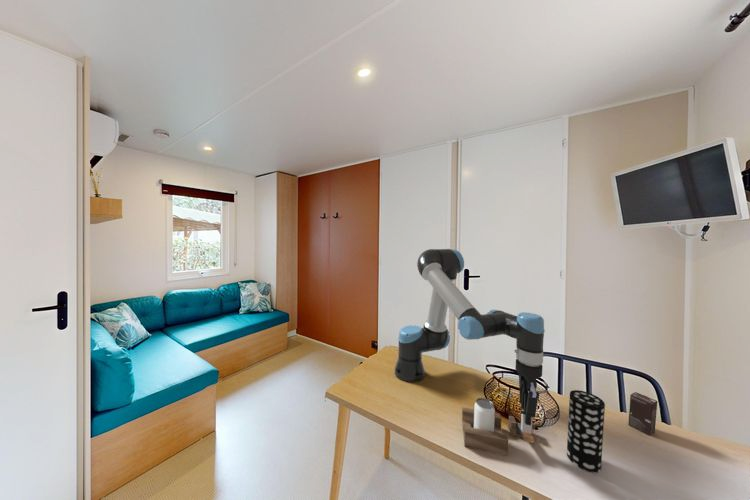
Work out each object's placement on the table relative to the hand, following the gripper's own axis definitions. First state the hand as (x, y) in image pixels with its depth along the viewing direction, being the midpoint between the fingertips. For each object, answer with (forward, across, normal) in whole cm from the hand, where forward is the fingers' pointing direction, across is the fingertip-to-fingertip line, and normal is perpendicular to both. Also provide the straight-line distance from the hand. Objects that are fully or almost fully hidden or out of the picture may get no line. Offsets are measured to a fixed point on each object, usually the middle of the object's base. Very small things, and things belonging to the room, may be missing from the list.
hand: (526, 431), depth 84 cm
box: (+6, -21, +44) cm, 49 cm away
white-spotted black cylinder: (+6, +1, +16) cm, 17 cm away
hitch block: (+5, -1, -8) cm, 10 cm away
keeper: (+2, -2, 0) cm, 3 cm away
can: (+5, -1, -13) cm, 14 cm away
